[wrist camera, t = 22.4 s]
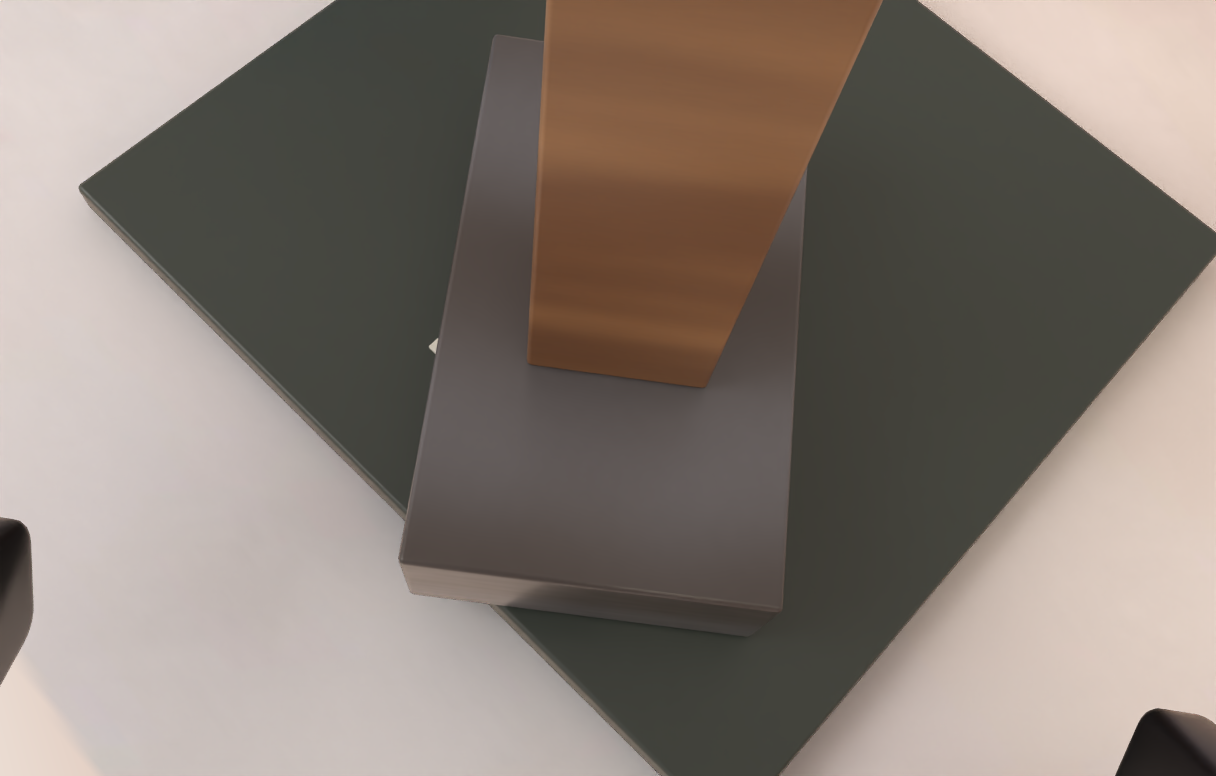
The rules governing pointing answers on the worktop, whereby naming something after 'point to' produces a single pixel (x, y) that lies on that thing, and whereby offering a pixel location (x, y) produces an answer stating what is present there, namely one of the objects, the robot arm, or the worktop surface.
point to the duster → (629, 314)
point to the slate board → (827, 336)
